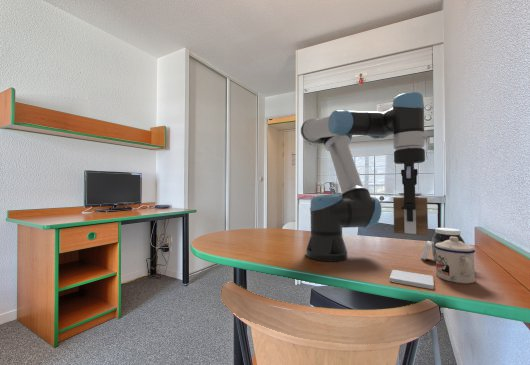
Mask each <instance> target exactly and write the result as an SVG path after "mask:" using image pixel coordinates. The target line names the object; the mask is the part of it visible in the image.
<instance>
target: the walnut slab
mask: <svg viewBox="0 0 530 365" xmlns="http://www.w3.org/2000/svg"><path fill="white" fill-rule="evenodd" d="M392 202H393V233H394V234H402V235H403V234H404V235H410V234H409V233H405V229H404V209H401V207H404V206H403V204H404V196H395V197H393V201H392ZM415 207H416V208H415V210H416V234H412V235H413V236H414V235H415V236H426V237H427V236H429V218H428V215H429V214H428V197H425V196H424V197H418V196H415Z"/></svg>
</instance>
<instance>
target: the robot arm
mask: <svg viewBox="0 0 530 365" xmlns="http://www.w3.org/2000/svg"><path fill="white" fill-rule="evenodd" d="M300 134H301V137H302V138H303V140H305V141H306V142H308V143H311V144H321V145H324V148H325V150H326V151H327V152H329V154H330V157H331V161H332V163H333V167H334V171H335V175H336V178H337V181H338V185H339V187H340V191H341V193H329V194H322V195H317V196H314V197H312V198H311V200H310V207H309V210H310V236H309V239H308V243H307V245H306V249H305V250H306V251H305V252H306V253H305V255H306V257H307V256H308V257H307V258H308V259H309V258H310V259H312V260H315V261H321V262H341V261H345V260H347V259H348V249H347V247H346V242H345V241H344V238H343V228H344V229H345V228H346V229H347V228H369V227H374V226H376V225H377V224H378V223H379V222H380V219H381V216H382V204H381V201H380V199H378V197H376V196H371V194H370V191H369V189H368V188H365V187H364V186H363V183H362V180H361V177H360V175H359V172H358V169H357V166H356V163H355V160H354V156H353V154H352V151H351V148H350V146H349V145H350V143H351V141H352V139H353V136H365V137H366V136H369V137H370V138H372V139H375V140H376V139H377V140H378V139H383V138H387V137H388V136H392V135H393V138H392V140H393V149H394V151H393V162H394V164H396V165H403V169H400V175H401V183H402V185H403V197H404V204H403V206H404V207H401V209H404V229H405V233H409V234H408V235H413V234H416V210H415V208H416V207H415V197H416V185H418V174H419V173H418V172H419V171H418V170H419V169H417V168H415V164H421V163H425V161H426V150H425V149H424V147H425V140H427V139H428V136H427V135H425V104H424V96H423V94H422V93H421V92H416V91H409V92H404V93H400V94H397V96H395V97H394V98H393V100H392V108H390V109H388V110H386V111H362V110H361V111H360V110H347V109H340V110H339V109H338V110H333V111H332V112H331V113H330V115H328V116H326V117H321V118H310V119H309V118H308V119H307V120H305V121H304V122H303V123H302V124H301V126H300Z"/></svg>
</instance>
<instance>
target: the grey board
mask: <svg viewBox="0 0 530 365" xmlns="http://www.w3.org/2000/svg"><path fill="white" fill-rule="evenodd" d="M389 282H390V283H396V284H402V285H407V286H412V287H413V286H414V287H418V288H424V289H429V290H435V285H434V283H435V282H434V277H433V275H430V274H422V273H417V272H411V271H410V272H409V271H404V270H396V269H391V274H390V276H389Z"/></svg>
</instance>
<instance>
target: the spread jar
mask: <svg viewBox="0 0 530 365" xmlns="http://www.w3.org/2000/svg"><path fill="white" fill-rule="evenodd" d="M434 228H435V233H434V235H433V236H432V239H431V241H429V240H427V242H426V245H425V246H424V249H423V252H422V253H421V254H422V255H421V257H420V258H421V259H422V260H425V261H426V259H427V257H428V254H429V252H430V250H431V252H432V258H433V260H434V262H435V263H436V248H435V244H436V243H440V242H443V241H446V240H450V239H449V238H450V237H457V238H458V241H461V242H463V243H465V244H466V242H465V240H464V239H463V237H462V236H461V229H458V228H454V227H453V228H452V227H434Z"/></svg>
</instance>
